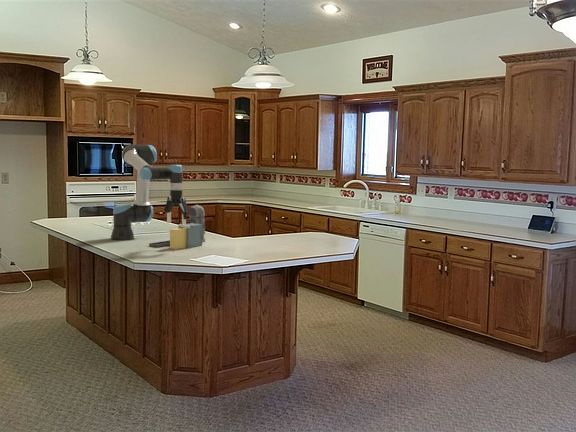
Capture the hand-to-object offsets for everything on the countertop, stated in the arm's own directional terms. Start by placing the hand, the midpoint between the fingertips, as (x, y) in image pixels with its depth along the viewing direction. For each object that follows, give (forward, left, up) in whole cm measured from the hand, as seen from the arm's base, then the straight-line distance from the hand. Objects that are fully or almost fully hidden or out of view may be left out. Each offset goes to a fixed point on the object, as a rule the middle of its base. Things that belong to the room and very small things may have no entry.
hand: (176, 223), depth 378 cm
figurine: (-11, +29, -16) cm, 35 cm away
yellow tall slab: (0, +4, -16) cm, 16 cm away
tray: (-14, +2, -15) cm, 21 cm away
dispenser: (0, +12, -15) cm, 20 cm away
